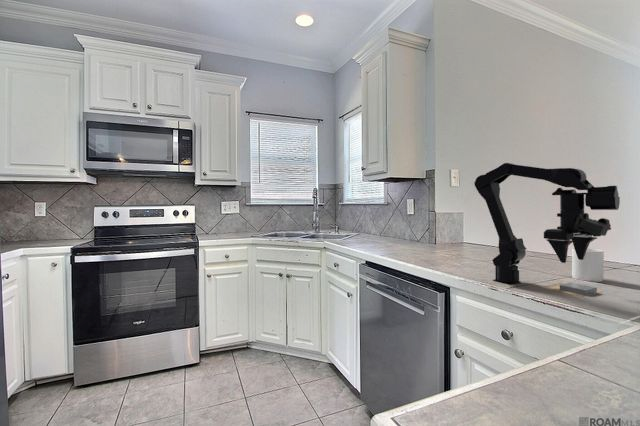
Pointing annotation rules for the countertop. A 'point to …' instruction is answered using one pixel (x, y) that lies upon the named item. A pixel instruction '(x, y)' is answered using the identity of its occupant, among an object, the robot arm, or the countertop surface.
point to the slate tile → (578, 289)
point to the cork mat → (557, 288)
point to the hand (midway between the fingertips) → (572, 261)
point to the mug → (588, 265)
